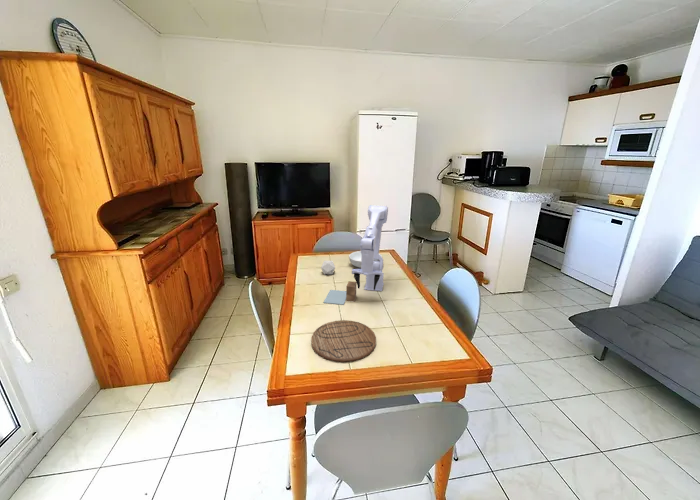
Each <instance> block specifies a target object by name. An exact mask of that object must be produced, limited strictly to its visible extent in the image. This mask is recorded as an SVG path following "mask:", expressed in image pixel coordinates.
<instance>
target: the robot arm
mask: <svg viewBox="0 0 700 500" xmlns="http://www.w3.org/2000/svg"><path fill="white" fill-rule="evenodd" d="M388 215H389V207H388V206H387V205H374V204H373V205H372V204H370V205H368V208H367V217H368V220H369V225H368V226H366V228H365V231H364V233H363V238H361V239H360V243H359V247H360V251H361V253H362V258H361V268H352V269H351V275H353V278H354V280H355V282H357V283H356V287H357V289H360V287H361V275H363V276H365V285H364V288H363V289H364V290H366V291H367V290H368V291H376V292H383V288H384V285H385V283H384V276H385V272H383V269H384V258H383V256H382V257H381V256H380V255H379V254H380V248H381V247H380V246H381V240H382V239H381V238H382V228H383V226H384V224H386V223H387V221H388ZM377 260H380V261H377Z"/></svg>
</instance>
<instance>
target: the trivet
mask: <svg viewBox="0 0 700 500" xmlns="http://www.w3.org/2000/svg"><path fill="white" fill-rule="evenodd" d="M310 341H311V348H312V350H313V352H314V353H316V355H318V357H320V358H323V359H324V360H327V361H330V362H334V363H351V362H356V361H357V362H358V361H360V360H363V359H365V358H367V357H368V356H369V355H371V354H372V352H374V349H376V345H377V344H376V343H377V342H376V341H377V336H376V334H375V332H374V331H373V330H372V329H371V327H369V326H367V325H366V324H364V323H361V322H360V321H354V320H345V319H343V320H333V321H330V322H326V323H324V324H322V325H321V326H319V327H317V328H316V329H315V330H314V331H313V332H312V334H311V339H310Z"/></svg>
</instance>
